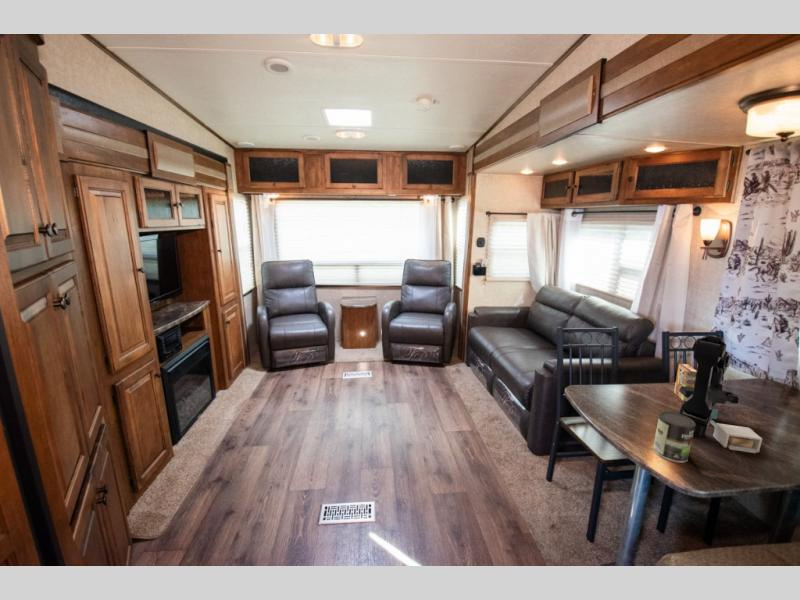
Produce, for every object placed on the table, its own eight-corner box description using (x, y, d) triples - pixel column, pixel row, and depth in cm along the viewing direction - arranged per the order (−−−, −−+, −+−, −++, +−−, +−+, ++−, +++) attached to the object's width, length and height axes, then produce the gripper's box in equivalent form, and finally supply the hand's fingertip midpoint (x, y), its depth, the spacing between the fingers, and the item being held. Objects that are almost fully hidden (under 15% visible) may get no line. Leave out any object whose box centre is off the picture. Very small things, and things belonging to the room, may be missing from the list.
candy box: (692, 402, 160) (699, 371, 157) (682, 400, 161) (688, 370, 158) (682, 393, 168) (688, 364, 165) (672, 392, 169) (678, 363, 166)
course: (738, 465, 118) (742, 447, 116) (700, 426, 140) (704, 412, 139) (775, 471, 115) (780, 453, 114) (731, 431, 137) (734, 416, 136)
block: (730, 447, 125) (733, 438, 124) (721, 438, 131) (723, 428, 130) (751, 450, 123) (753, 440, 123) (740, 440, 129) (742, 431, 128)
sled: (729, 450, 124) (732, 439, 123) (695, 416, 146) (697, 406, 145) (755, 454, 122) (758, 442, 121) (717, 419, 144) (719, 409, 143)
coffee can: (694, 458, 121) (702, 423, 118) (677, 466, 117) (684, 429, 114) (663, 441, 131) (669, 408, 127) (646, 448, 127) (652, 414, 123)
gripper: (695, 384, 138) (688, 419, 142) (752, 390, 133) (743, 426, 137) (682, 373, 149) (675, 405, 152) (734, 379, 144) (726, 412, 147)
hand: (704, 412), depth 147 cm, fingers closed
